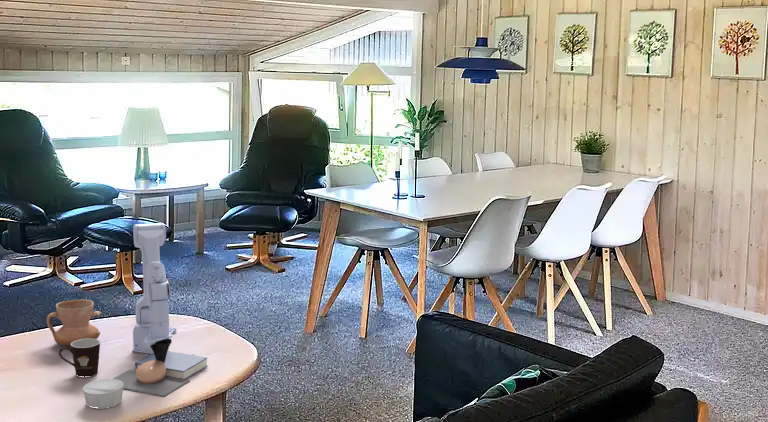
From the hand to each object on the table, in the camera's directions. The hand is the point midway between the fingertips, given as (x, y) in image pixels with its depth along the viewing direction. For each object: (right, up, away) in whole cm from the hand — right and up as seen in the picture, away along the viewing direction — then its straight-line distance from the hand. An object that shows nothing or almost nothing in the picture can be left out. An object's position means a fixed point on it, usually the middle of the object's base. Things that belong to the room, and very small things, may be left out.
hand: (160, 362), depth 268 cm
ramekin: (-11, -8, -21) cm, 25 cm away
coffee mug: (-25, -4, +1) cm, 25 cm away
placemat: (-3, -5, -6) cm, 8 cm away
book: (+2, -3, +6) cm, 7 cm away
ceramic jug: (-36, +1, +28) cm, 46 cm away
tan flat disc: (-2, -3, -4) cm, 5 cm away
